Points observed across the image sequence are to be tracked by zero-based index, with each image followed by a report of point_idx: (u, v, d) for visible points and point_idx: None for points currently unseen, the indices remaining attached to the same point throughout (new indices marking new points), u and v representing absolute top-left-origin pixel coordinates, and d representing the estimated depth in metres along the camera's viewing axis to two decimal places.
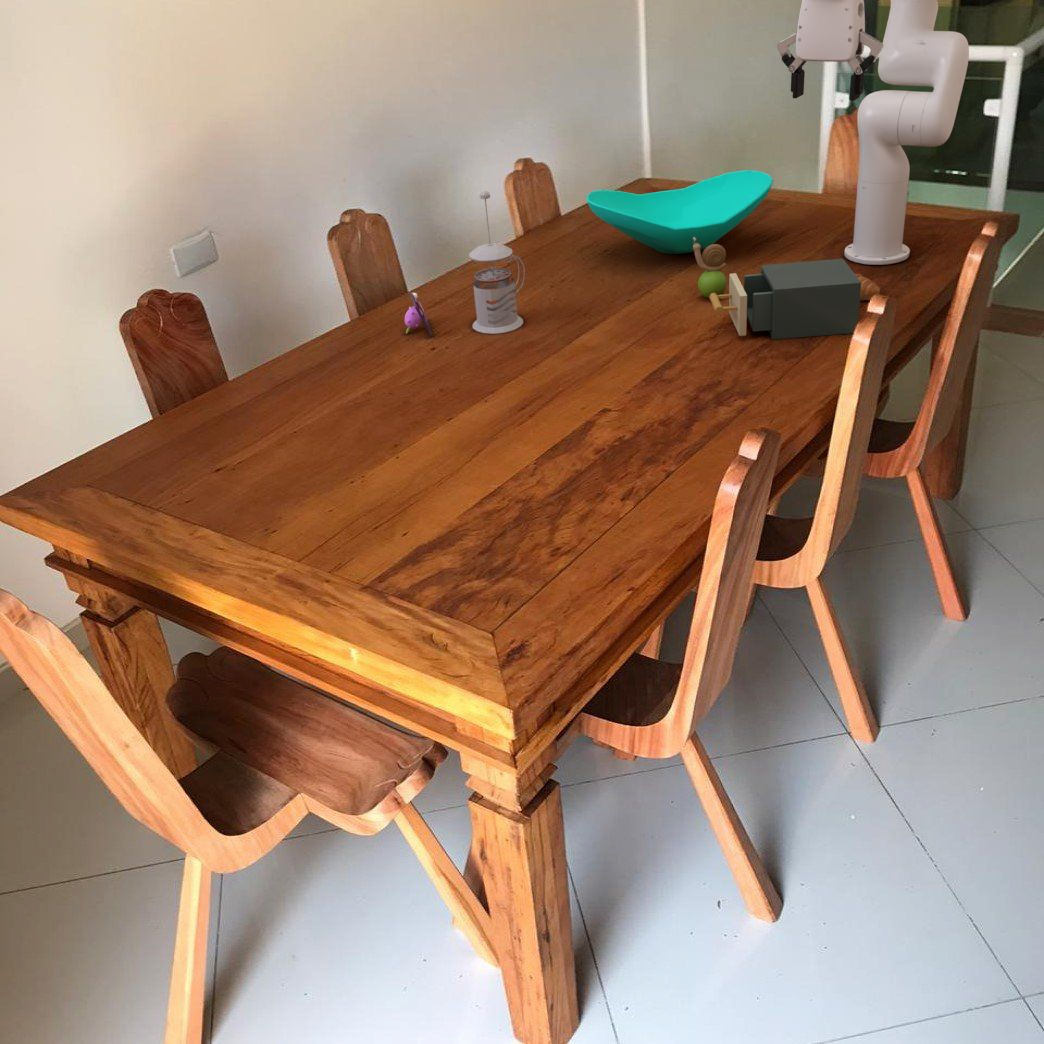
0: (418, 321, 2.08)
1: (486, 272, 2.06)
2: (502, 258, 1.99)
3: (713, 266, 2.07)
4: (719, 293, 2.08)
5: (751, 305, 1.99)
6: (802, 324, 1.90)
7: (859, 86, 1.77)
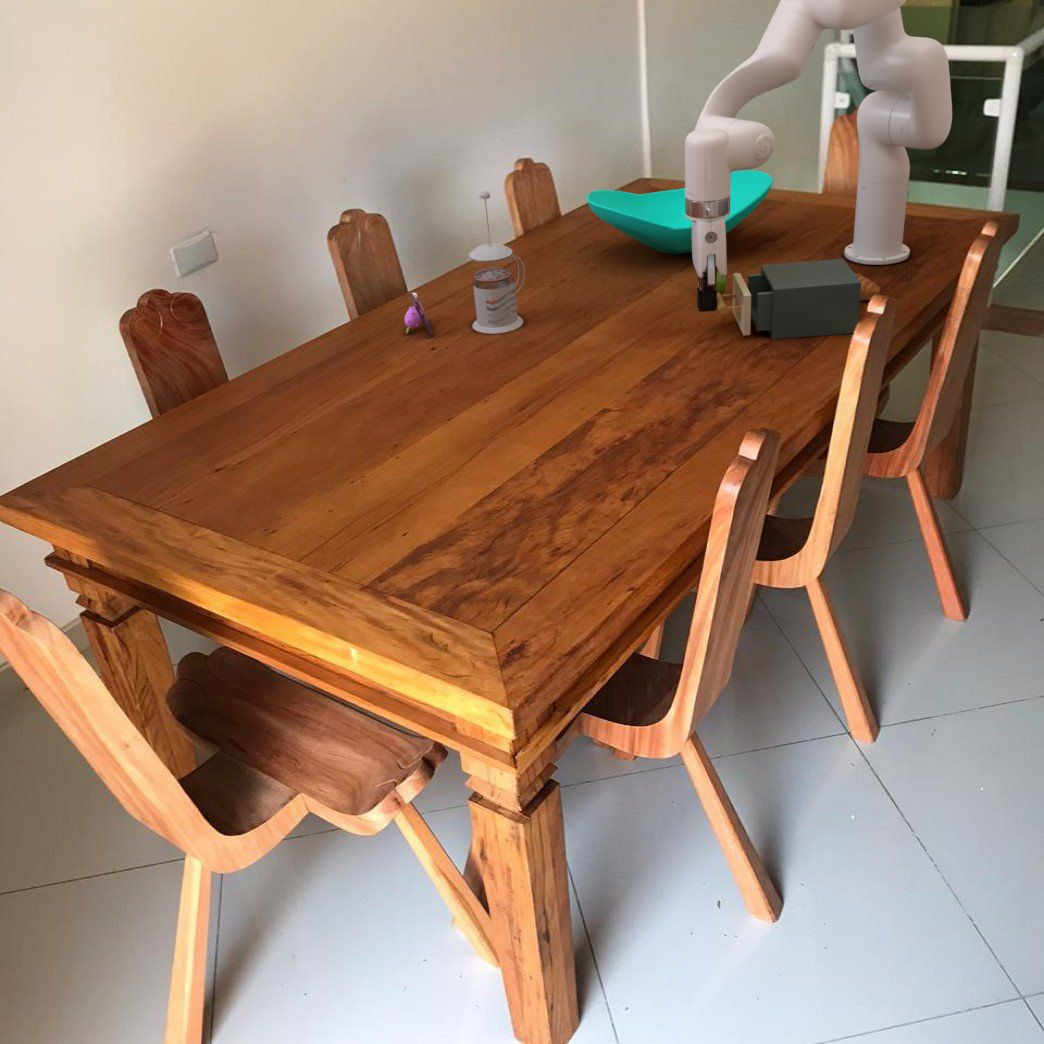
0: (418, 321, 2.08)
1: (486, 272, 2.06)
2: (502, 258, 1.99)
3: None
4: None
5: (755, 305, 1.99)
6: (802, 324, 1.90)
7: (703, 301, 1.93)
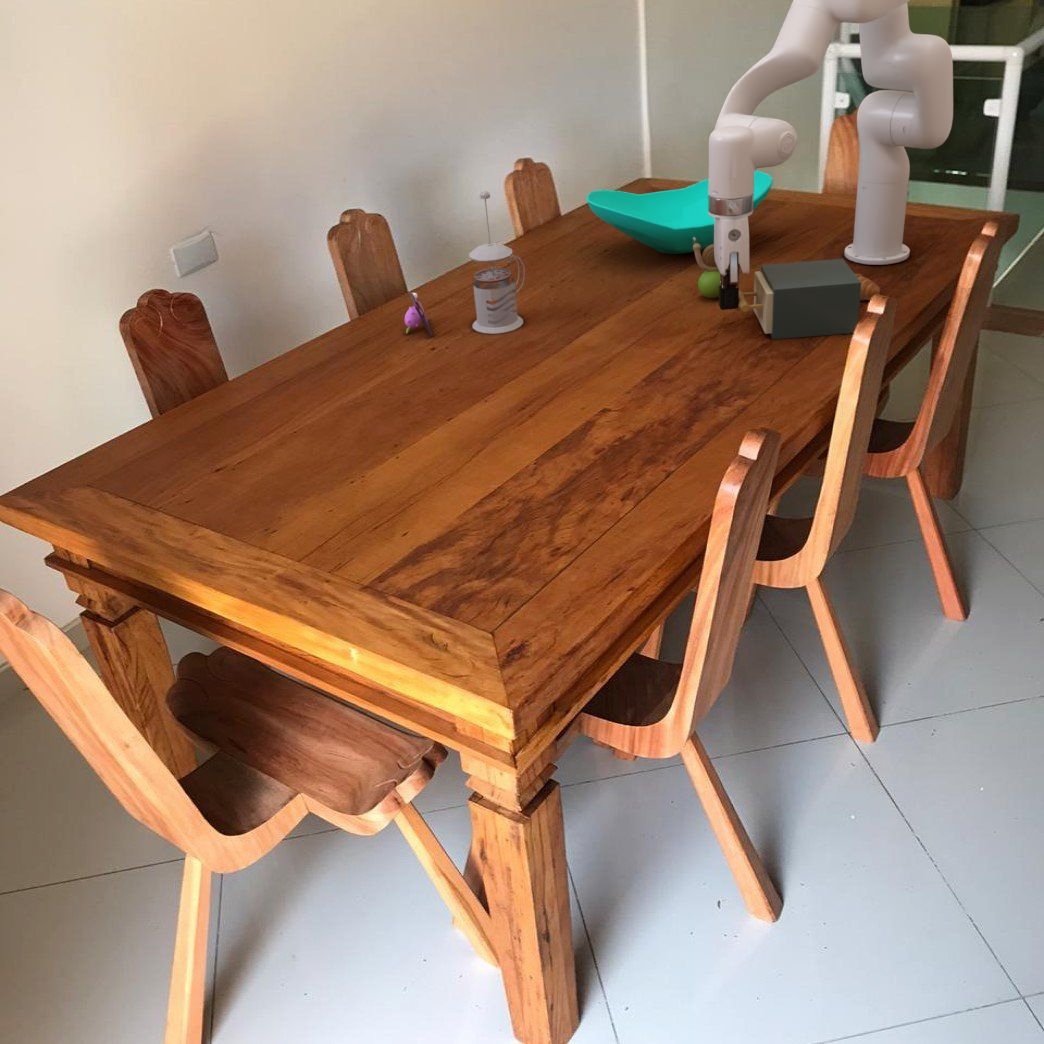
0: (418, 321, 2.08)
1: (486, 272, 2.06)
2: (502, 258, 1.99)
3: (713, 266, 2.07)
4: None
5: None
6: (802, 324, 1.90)
7: (725, 299, 1.93)
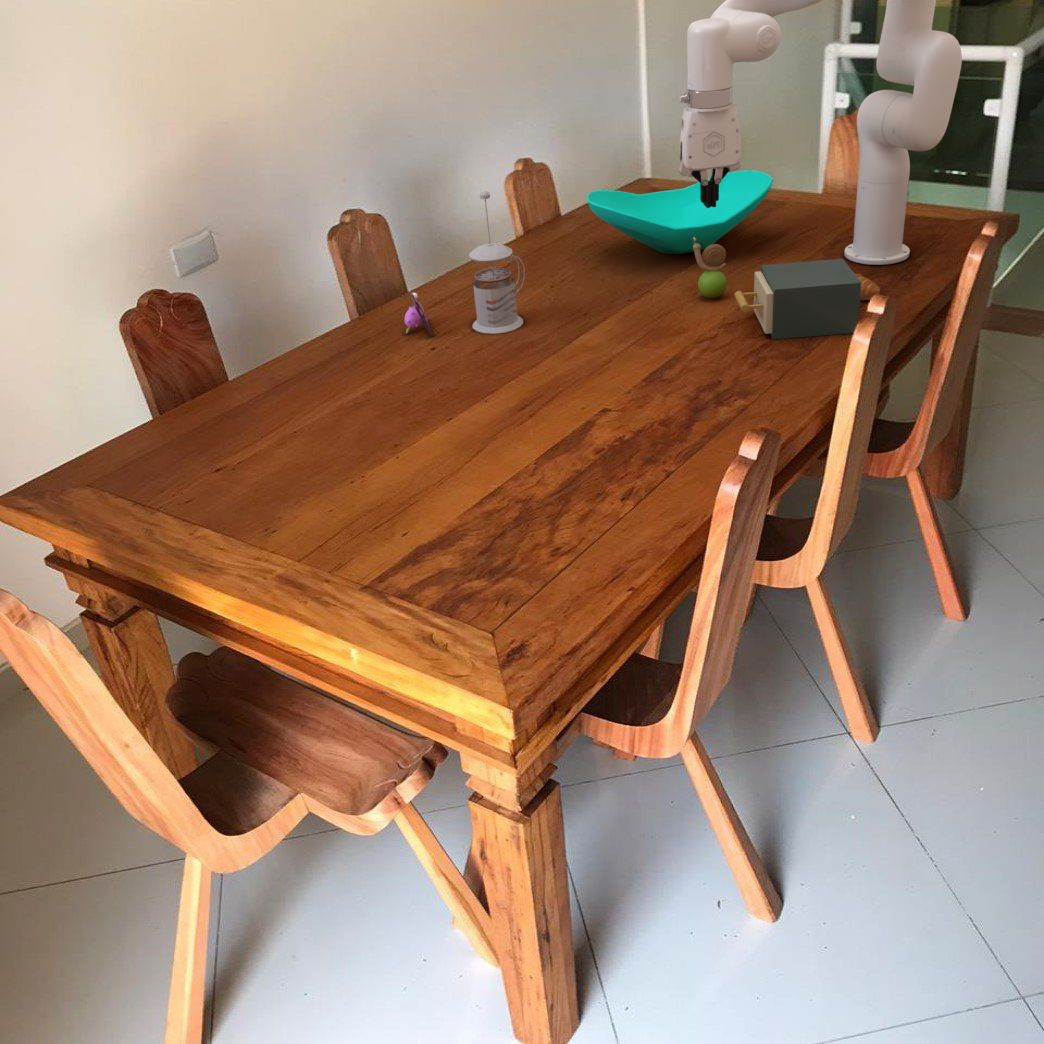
0: (418, 321, 2.08)
1: (486, 272, 2.06)
2: (502, 258, 1.99)
3: (713, 266, 2.07)
4: (719, 293, 2.08)
5: None
6: (802, 324, 1.90)
7: (701, 193, 1.97)
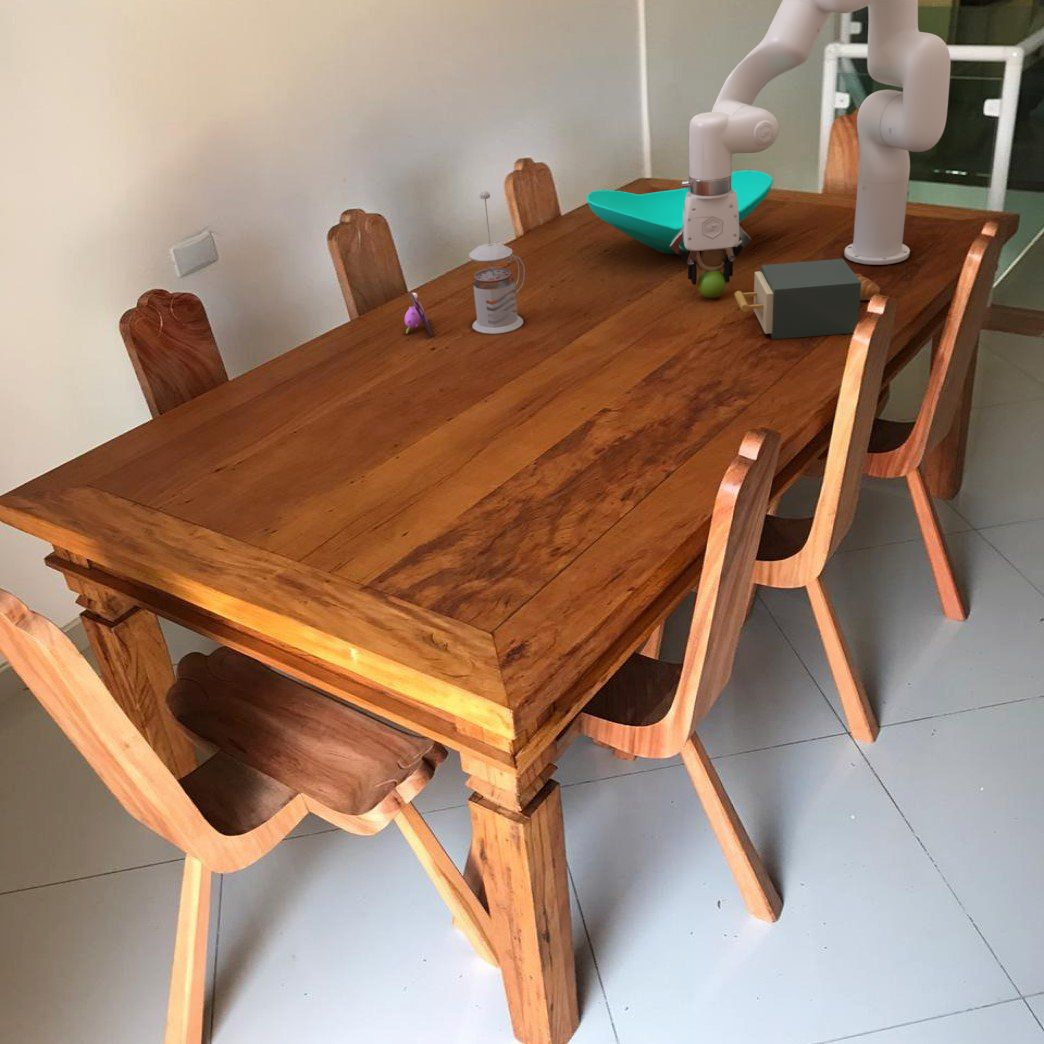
0: (418, 321, 2.08)
1: (486, 272, 2.06)
2: (502, 258, 1.99)
3: (712, 266, 2.07)
4: (719, 293, 2.08)
5: None
6: (802, 324, 1.90)
7: None
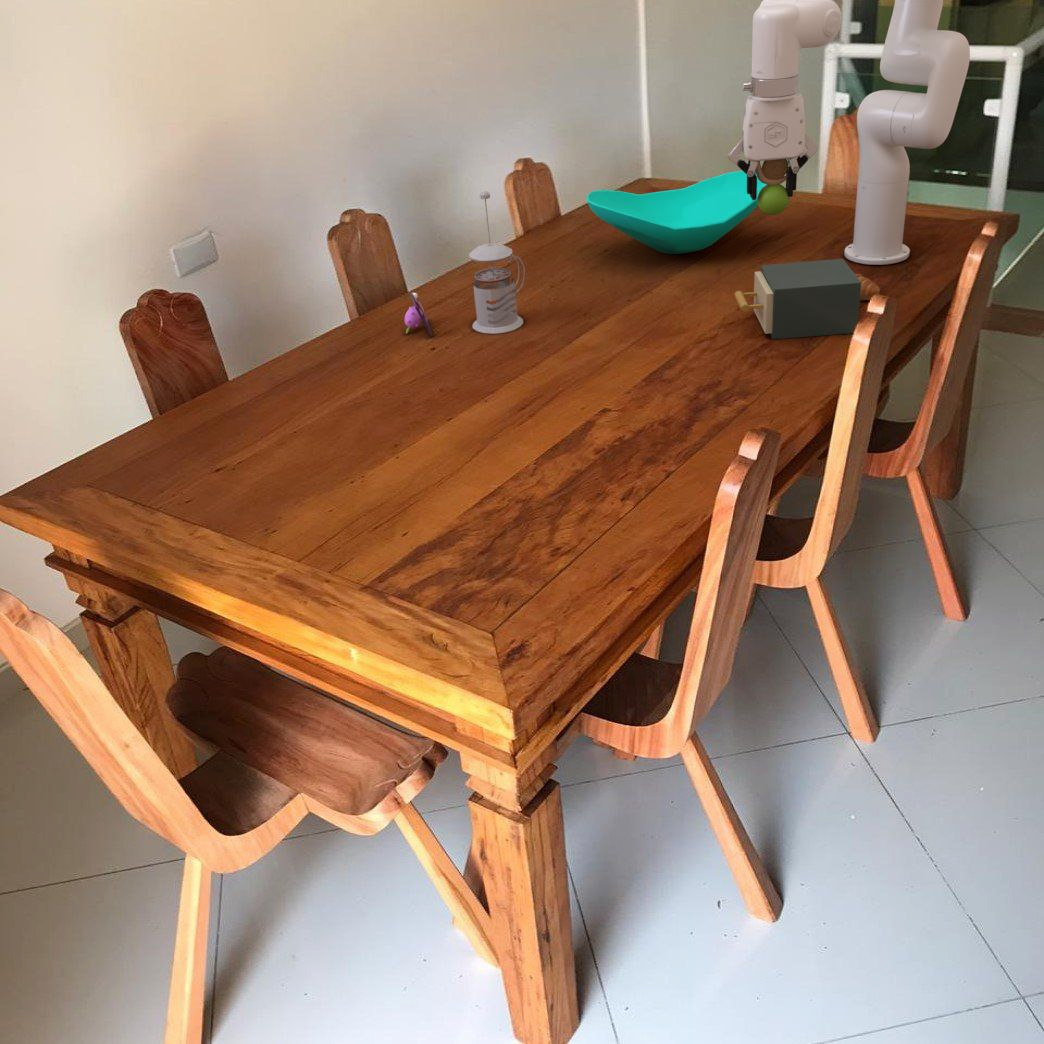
0: (418, 321, 2.08)
1: (486, 272, 2.06)
2: (502, 258, 1.99)
3: (774, 179, 1.90)
4: (781, 208, 1.91)
5: None
6: (802, 324, 1.90)
7: None
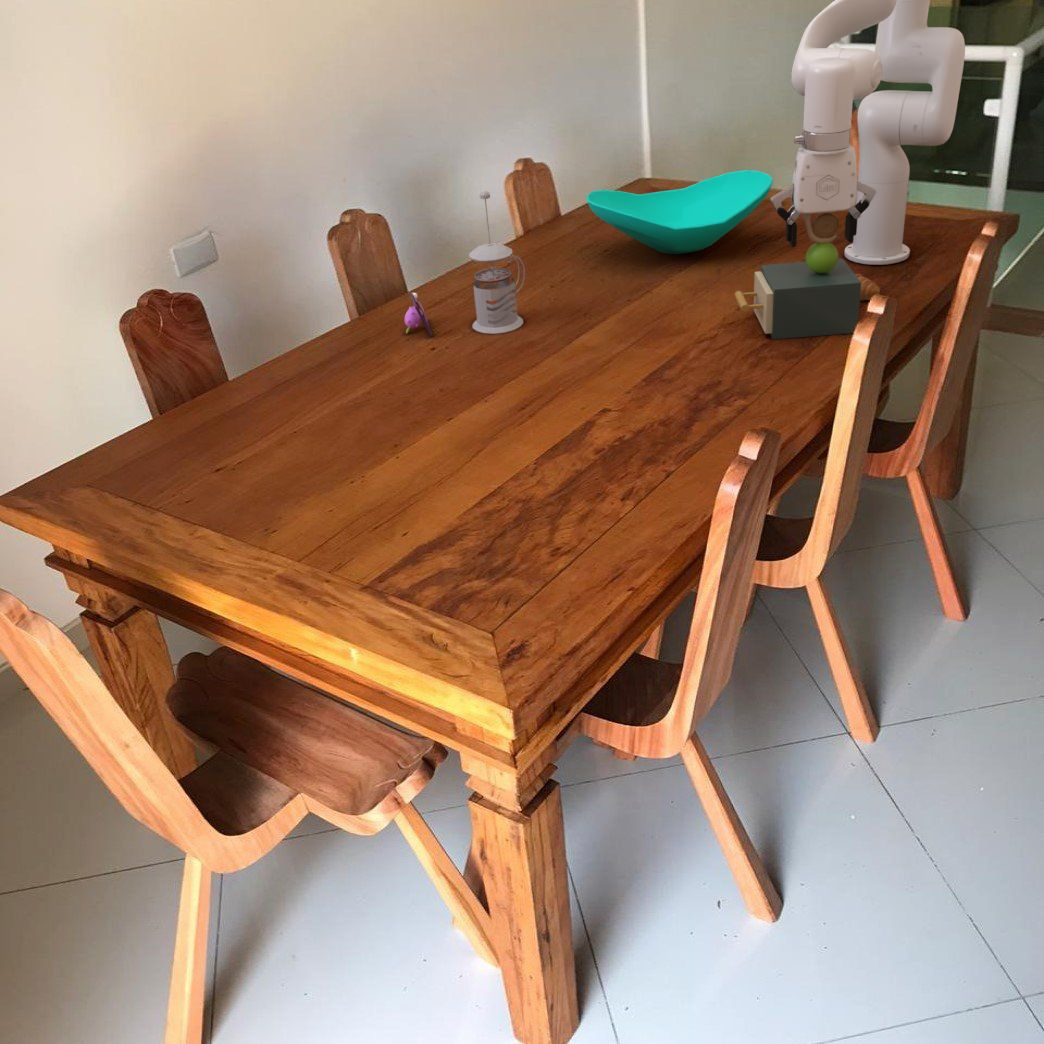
0: (418, 321, 2.08)
1: (486, 272, 2.06)
2: (502, 258, 1.99)
3: (824, 238, 1.88)
4: (830, 267, 1.89)
5: None
6: (802, 324, 1.90)
7: (786, 231, 1.89)
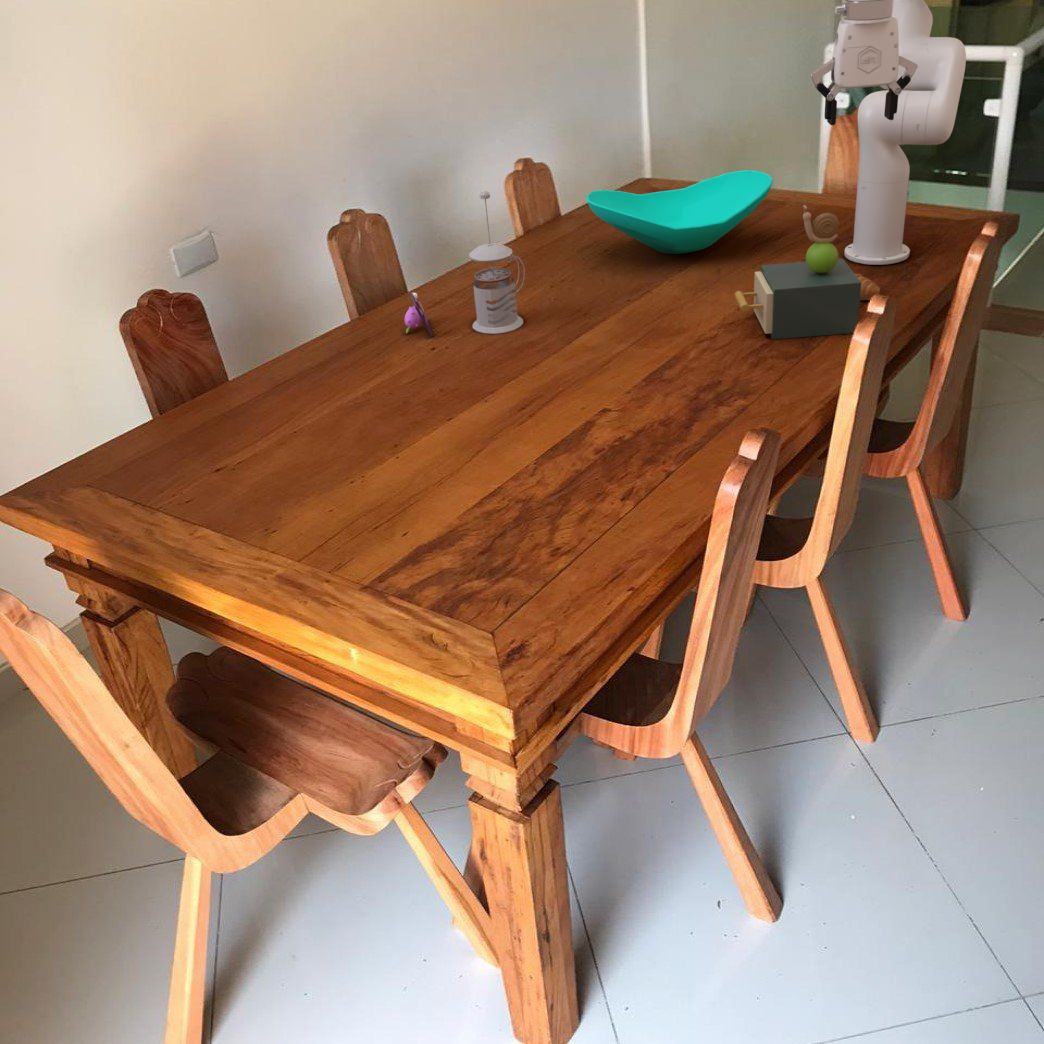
0: (418, 321, 2.08)
1: (486, 272, 2.06)
2: (502, 258, 1.99)
3: (824, 238, 1.88)
4: (830, 267, 1.89)
5: None
6: (802, 324, 1.90)
7: (825, 110, 1.86)
